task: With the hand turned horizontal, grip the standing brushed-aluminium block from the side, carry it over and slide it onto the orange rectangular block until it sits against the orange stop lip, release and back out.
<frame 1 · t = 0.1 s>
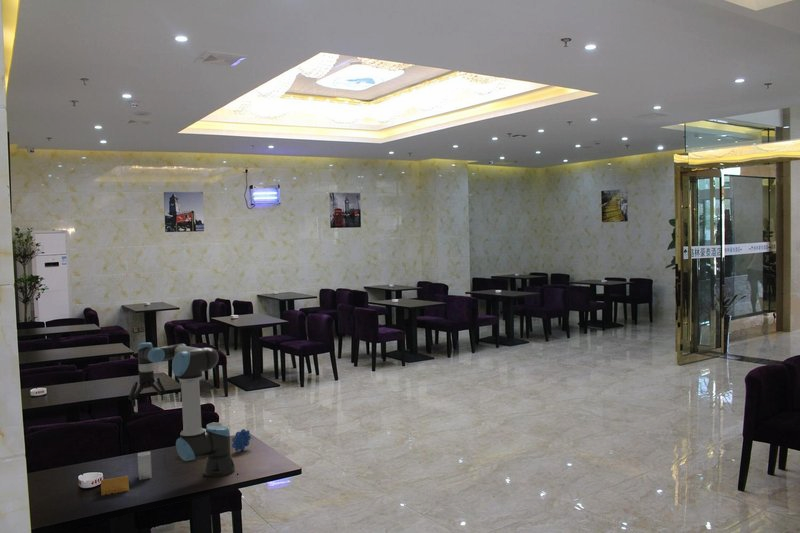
hand: (148, 409, 349), 28 cm above the table, tool pointing down, fingers open, 13 cm apart
cable organizer: (199, 452, 359), on the table
grapes: (241, 450, 360), on the table
aluminium block: (145, 477, 322), on the table
orange rectangular block: (115, 489, 306), on the table
mug: (214, 442, 377), on the table
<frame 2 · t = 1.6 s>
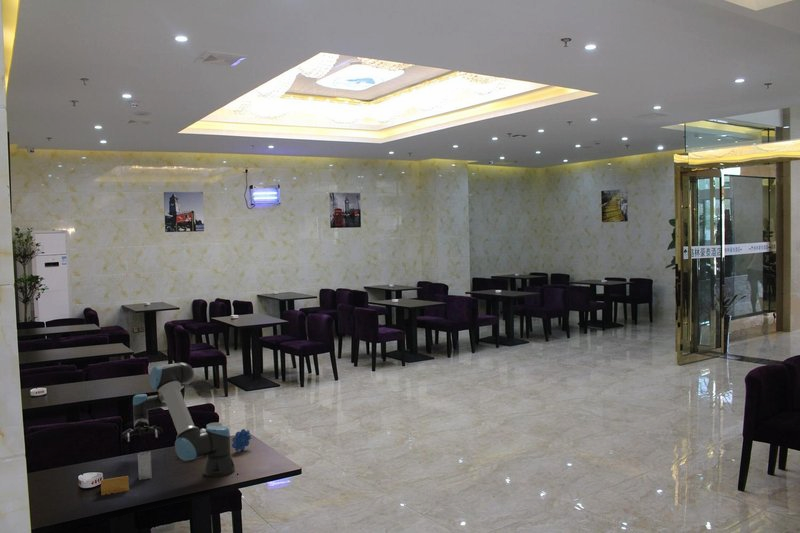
hand: (142, 436, 330), 18 cm above the table, tool horizontal, fingers open, 13 cm apart
nothing on the table moved.
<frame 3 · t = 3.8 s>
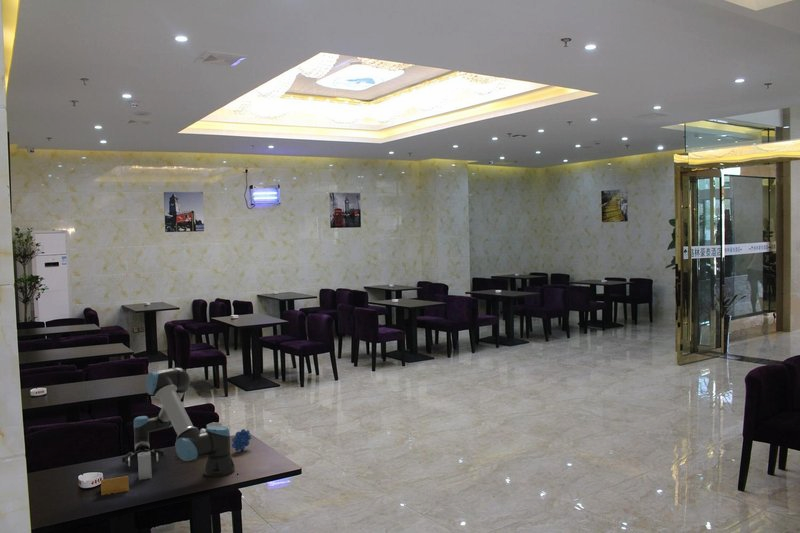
hand: (143, 461, 325), 7 cm above the table, tool horizontal, fingers open, 13 cm apart
nothing on the table moved.
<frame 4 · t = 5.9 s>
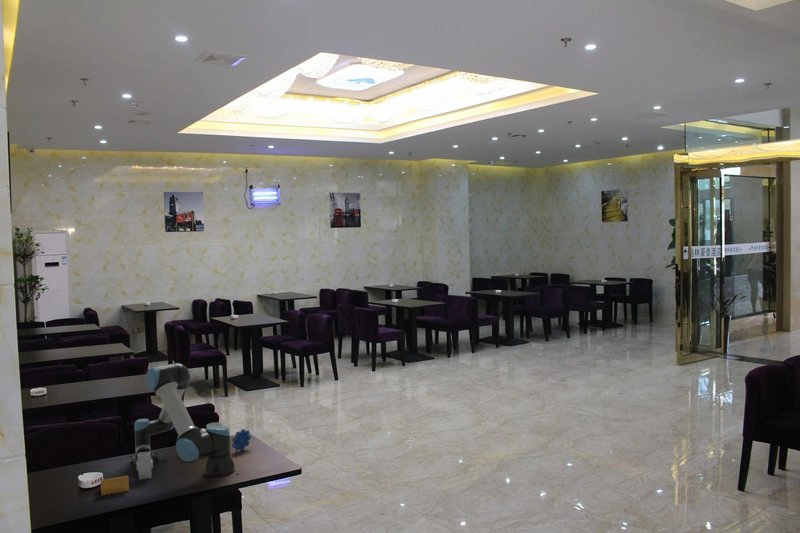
hand: (144, 466, 317), 7 cm above the table, tool horizontal, fingers closed on aluminium block, 6 cm apart
aluminium block: (145, 477, 322), on the table, touching gripper
everything else where it was.
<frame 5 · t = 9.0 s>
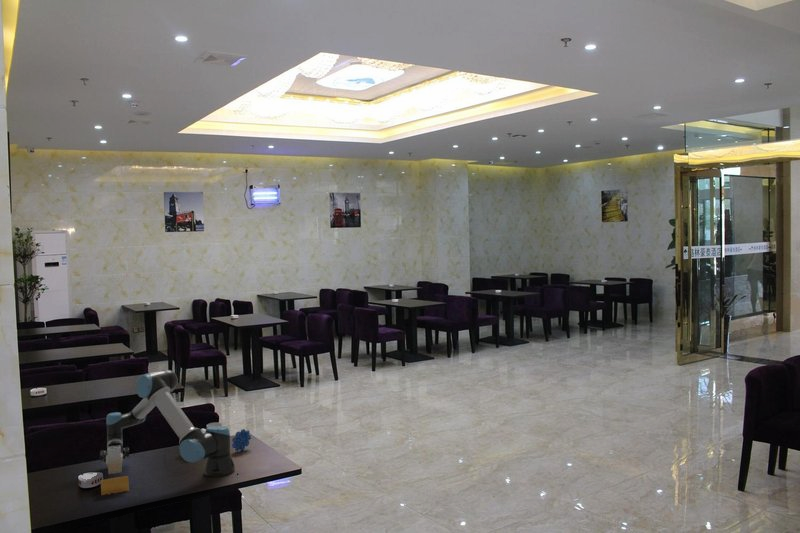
hand: (114, 460, 312), 12 cm above the table, tool horizontal, fingers closed on aluminium block, 6 cm apart
aluminium block: (115, 471, 317), point 5 cm above the table, touching gripper
everything else where it was.
when the fingers open (12 cm above the table, at t = 12.2 s): aluminium block stays where it is, resting on orange rectangular block.
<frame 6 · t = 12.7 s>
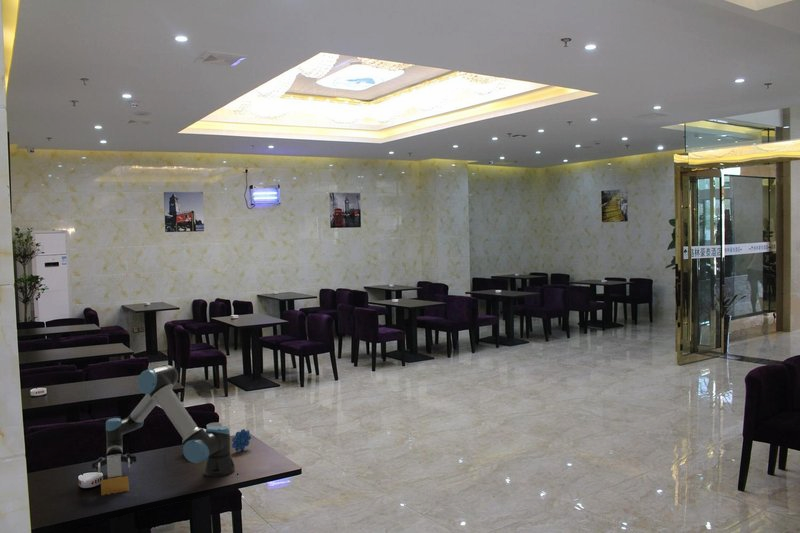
hand: (114, 467, 302), 12 cm above the table, tool horizontal, fingers open, 12 cm apart
aluminium block: (115, 481, 306), point 4 cm above the table, touching orange rectangular block
everything else where it was.
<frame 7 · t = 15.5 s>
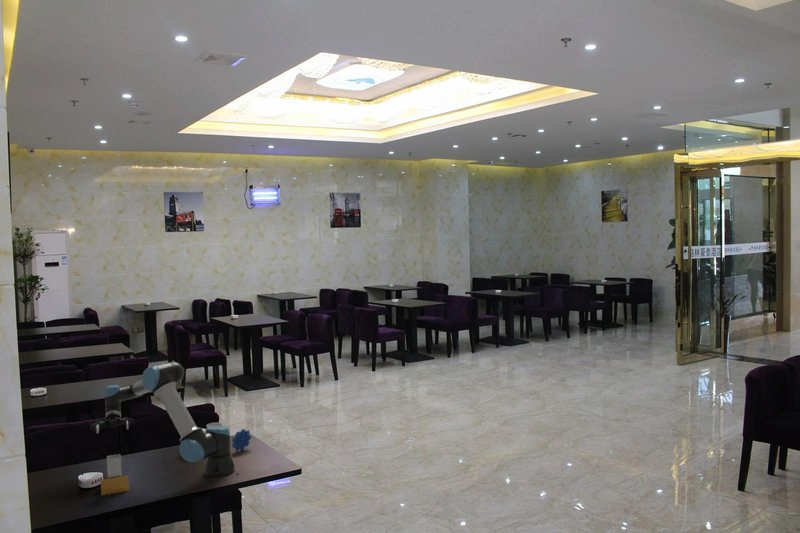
hand: (112, 428, 314), 27 cm above the table, tool horizontal, fingers open, 13 cm apart
nothing on the table moved.
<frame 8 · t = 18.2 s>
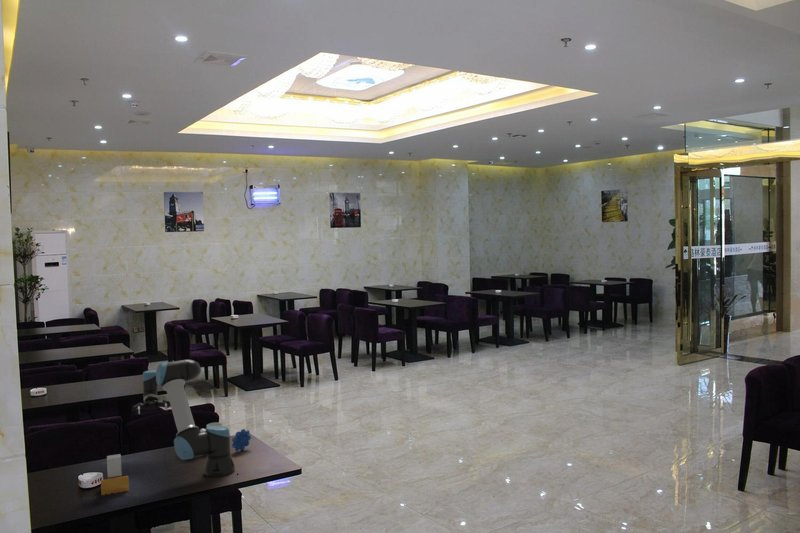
hand: (152, 409, 338), 30 cm above the table, tool horizontal, fingers open, 13 cm apart
nothing on the table moved.
at the end: aluminium block inside the target area on the orange rectangular block (0.1 cm from its centre), point 4.0 cm above the orange rectangular block's base; aluminium block tilted 0°; the gripper is holding nothing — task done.
